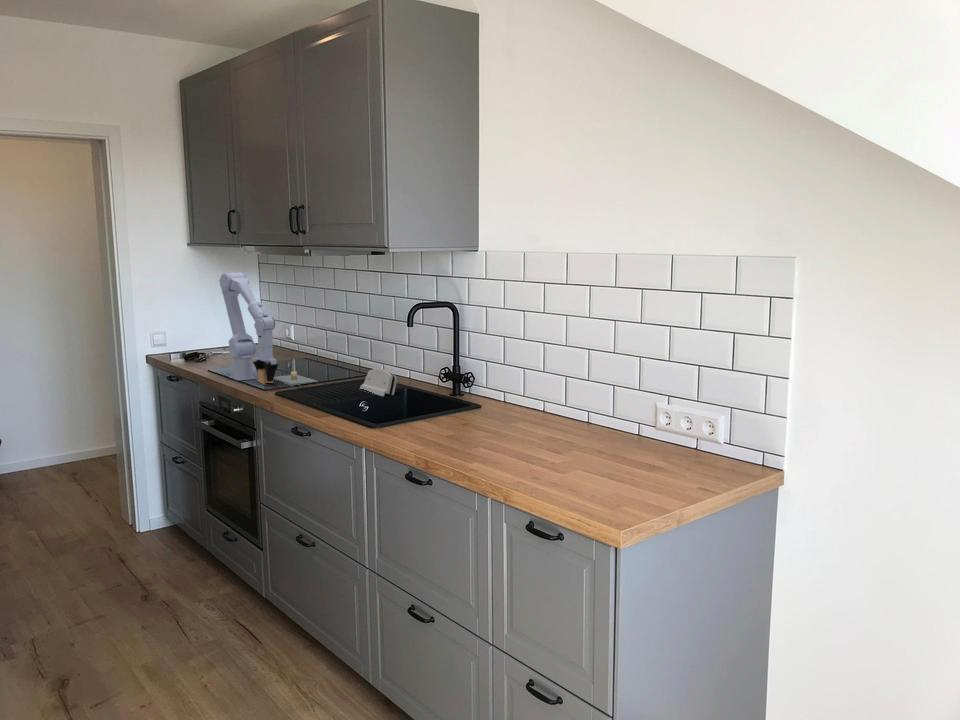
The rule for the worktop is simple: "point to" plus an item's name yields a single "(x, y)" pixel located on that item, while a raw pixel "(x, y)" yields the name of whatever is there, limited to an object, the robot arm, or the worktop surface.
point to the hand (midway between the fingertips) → (265, 379)
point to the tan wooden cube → (263, 376)
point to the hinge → (380, 382)
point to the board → (294, 379)
